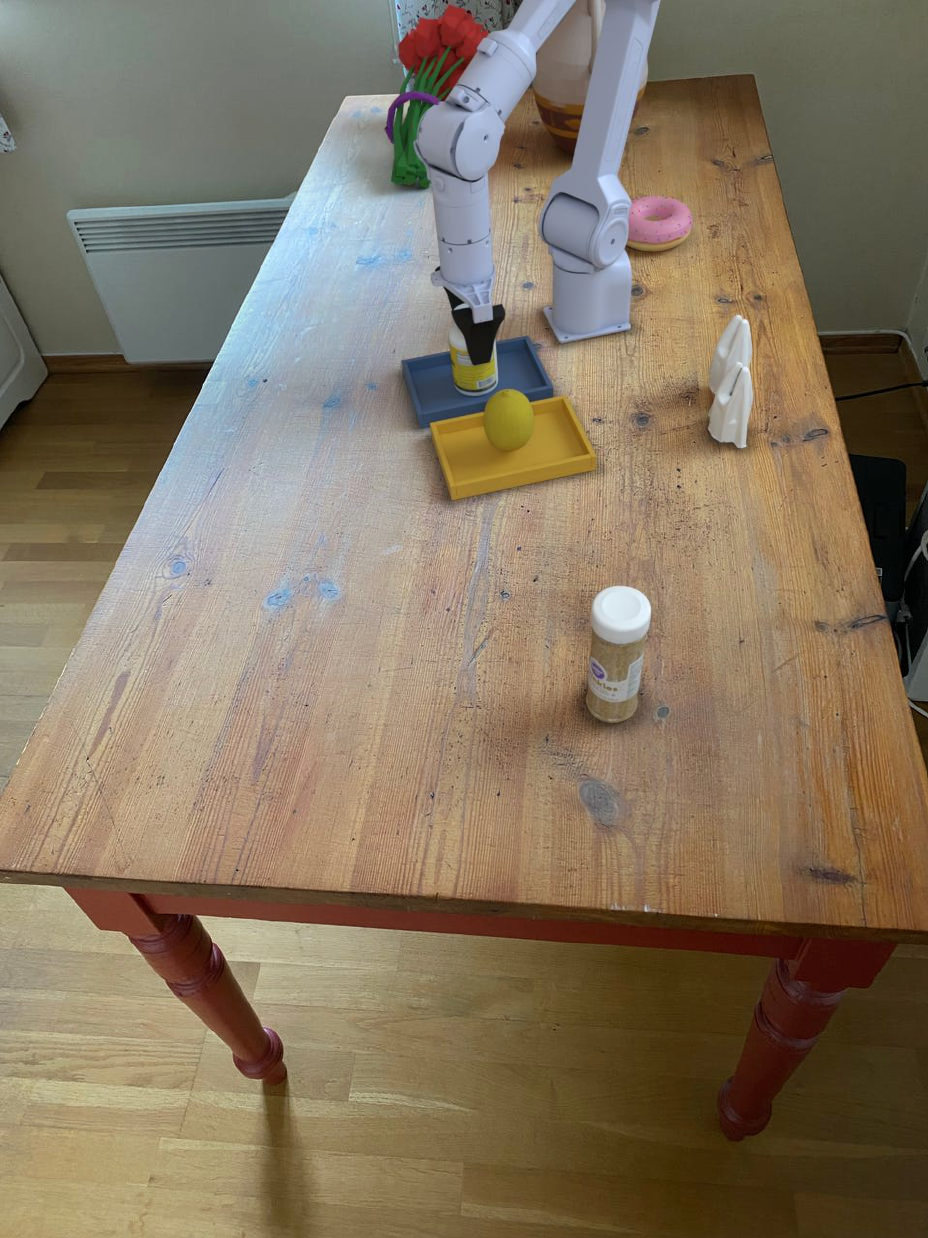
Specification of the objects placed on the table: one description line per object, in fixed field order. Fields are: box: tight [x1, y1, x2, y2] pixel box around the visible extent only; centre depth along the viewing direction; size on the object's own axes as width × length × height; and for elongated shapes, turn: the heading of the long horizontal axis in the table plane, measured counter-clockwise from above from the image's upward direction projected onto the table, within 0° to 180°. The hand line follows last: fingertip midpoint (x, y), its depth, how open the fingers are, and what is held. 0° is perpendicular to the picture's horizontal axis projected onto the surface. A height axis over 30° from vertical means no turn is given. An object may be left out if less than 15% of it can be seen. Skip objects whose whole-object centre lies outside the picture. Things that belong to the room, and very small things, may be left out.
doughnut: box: [626, 194, 694, 252], centre depth 125 cm, size 11×11×4 cm
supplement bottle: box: [448, 303, 498, 396], centre depth 104 cm, size 5×5×10 cm
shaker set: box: [707, 314, 754, 449], centre depth 97 cm, size 12×4×11 cm, turn 171°
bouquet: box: [384, 3, 489, 189], centre depth 144 cm, size 20×16×30 cm
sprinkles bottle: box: [585, 585, 652, 724], centre depth 73 cm, size 5×5×13 cm
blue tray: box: [400, 334, 554, 429], centre depth 107 cm, size 16×11×2 cm
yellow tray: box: [429, 394, 597, 501], centre depth 99 cm, size 16×11×2 cm
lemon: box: [483, 389, 534, 451], centre depth 97 cm, size 6×6×8 cm
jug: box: [531, 0, 649, 157], centre depth 134 cm, size 20×18×30 cm
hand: (473, 343), depth 103 cm, fingers open, 7 cm apart
